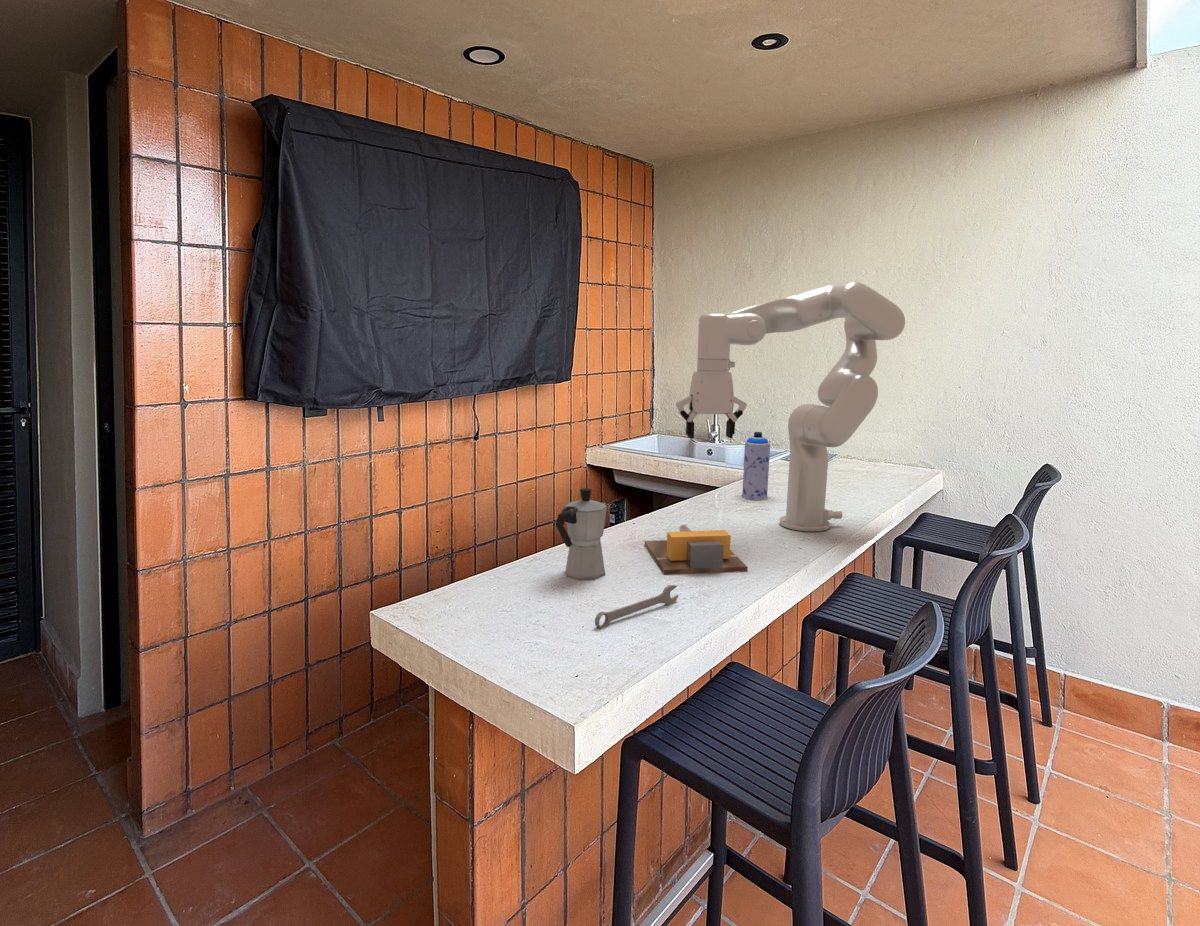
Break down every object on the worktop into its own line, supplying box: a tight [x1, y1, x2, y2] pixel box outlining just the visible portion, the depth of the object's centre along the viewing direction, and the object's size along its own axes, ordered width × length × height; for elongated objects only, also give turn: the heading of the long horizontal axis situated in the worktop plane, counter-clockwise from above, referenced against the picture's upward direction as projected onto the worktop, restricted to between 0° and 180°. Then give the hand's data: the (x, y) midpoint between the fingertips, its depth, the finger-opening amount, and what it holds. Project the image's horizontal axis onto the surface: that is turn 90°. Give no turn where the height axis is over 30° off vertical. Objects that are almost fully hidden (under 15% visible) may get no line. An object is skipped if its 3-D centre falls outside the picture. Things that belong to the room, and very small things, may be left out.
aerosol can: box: [741, 431, 771, 501], centre depth 210 cm, size 8×8×20 cm
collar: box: [666, 529, 732, 561], centre depth 151 cm, size 13×4×5 cm, turn 98°
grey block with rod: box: [678, 524, 724, 569], centre depth 155 cm, size 7×19×5 cm, turn 8°
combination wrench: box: [594, 584, 680, 629], centre depth 124 cm, size 4×1×20 cm
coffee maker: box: [555, 487, 608, 581], centre depth 143 cm, size 15×9×18 cm, turn 141°
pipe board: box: [644, 539, 749, 575], centre depth 156 cm, size 18×20×1 cm
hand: (710, 437), depth 169 cm, fingers open, 9 cm apart
